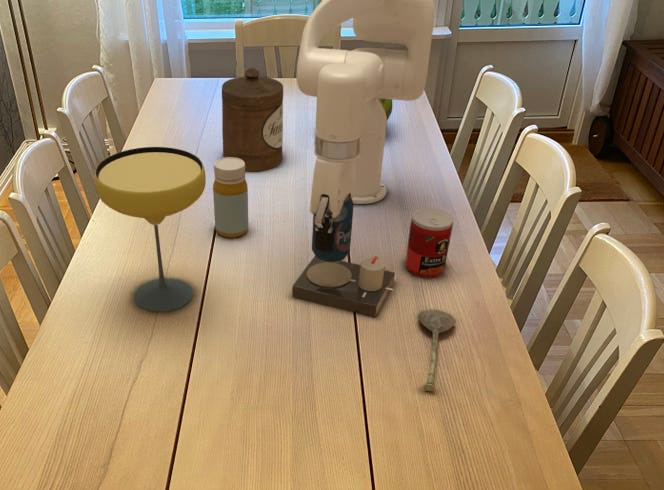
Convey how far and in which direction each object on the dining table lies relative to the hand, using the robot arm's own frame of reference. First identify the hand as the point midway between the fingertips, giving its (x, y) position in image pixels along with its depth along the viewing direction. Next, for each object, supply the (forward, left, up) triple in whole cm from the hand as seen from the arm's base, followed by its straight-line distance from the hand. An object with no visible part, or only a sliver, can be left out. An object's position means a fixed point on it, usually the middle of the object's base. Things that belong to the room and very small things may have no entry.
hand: (331, 239), depth 129 cm
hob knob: (0, +8, -8) cm, 11 cm away
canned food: (-14, +15, -10) cm, 23 cm away
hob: (0, +3, -10) cm, 11 cm away
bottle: (-12, -26, -10) cm, 30 cm away
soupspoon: (+11, +22, -10) cm, 27 cm away
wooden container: (-47, -37, -10) cm, 61 cm away
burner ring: (0, 0, -8) cm, 8 cm away
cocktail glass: (+15, -27, -10) cm, 33 cm away
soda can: (0, 0, -3) cm, 3 cm away
